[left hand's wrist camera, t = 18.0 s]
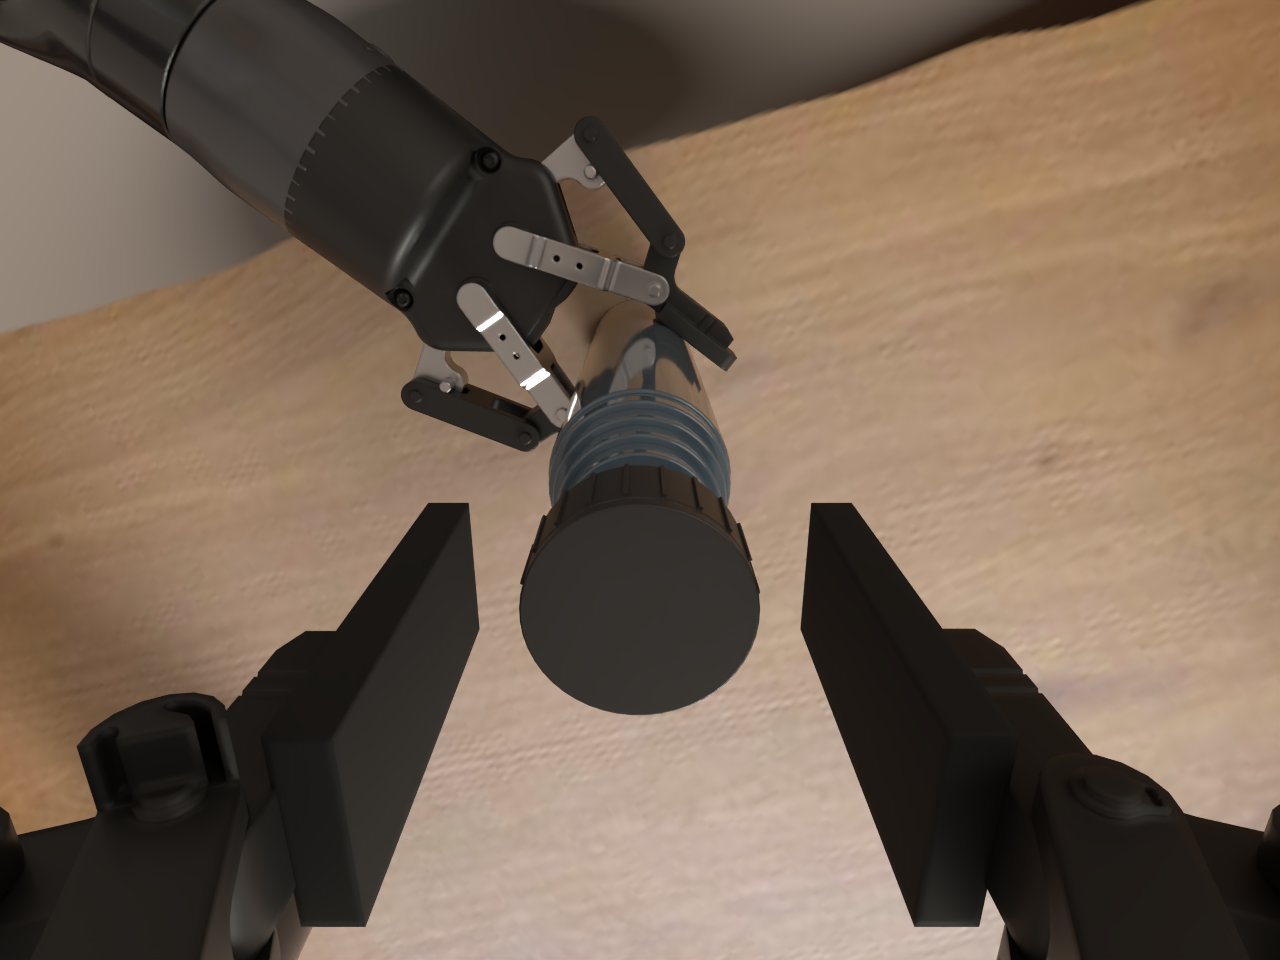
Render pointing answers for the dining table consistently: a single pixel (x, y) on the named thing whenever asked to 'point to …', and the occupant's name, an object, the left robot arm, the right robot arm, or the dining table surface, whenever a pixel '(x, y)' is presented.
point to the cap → (639, 592)
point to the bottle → (638, 407)
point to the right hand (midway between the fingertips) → (689, 408)
